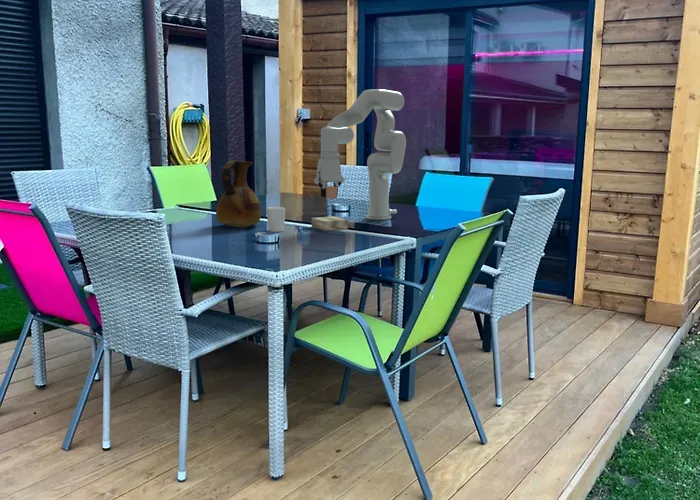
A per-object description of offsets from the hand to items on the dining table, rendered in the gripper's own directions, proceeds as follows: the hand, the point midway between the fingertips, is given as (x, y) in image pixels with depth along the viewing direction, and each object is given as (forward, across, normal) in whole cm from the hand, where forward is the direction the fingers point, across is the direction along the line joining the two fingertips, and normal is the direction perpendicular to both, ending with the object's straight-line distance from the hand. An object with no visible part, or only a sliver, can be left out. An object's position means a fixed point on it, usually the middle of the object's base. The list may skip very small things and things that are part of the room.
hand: (329, 196), depth 299 cm
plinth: (+14, 0, 0) cm, 14 cm away
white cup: (+14, +24, -4) cm, 28 cm away
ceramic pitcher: (+14, +35, -21) cm, 43 cm away
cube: (+1, 0, 0) cm, 1 cm away
